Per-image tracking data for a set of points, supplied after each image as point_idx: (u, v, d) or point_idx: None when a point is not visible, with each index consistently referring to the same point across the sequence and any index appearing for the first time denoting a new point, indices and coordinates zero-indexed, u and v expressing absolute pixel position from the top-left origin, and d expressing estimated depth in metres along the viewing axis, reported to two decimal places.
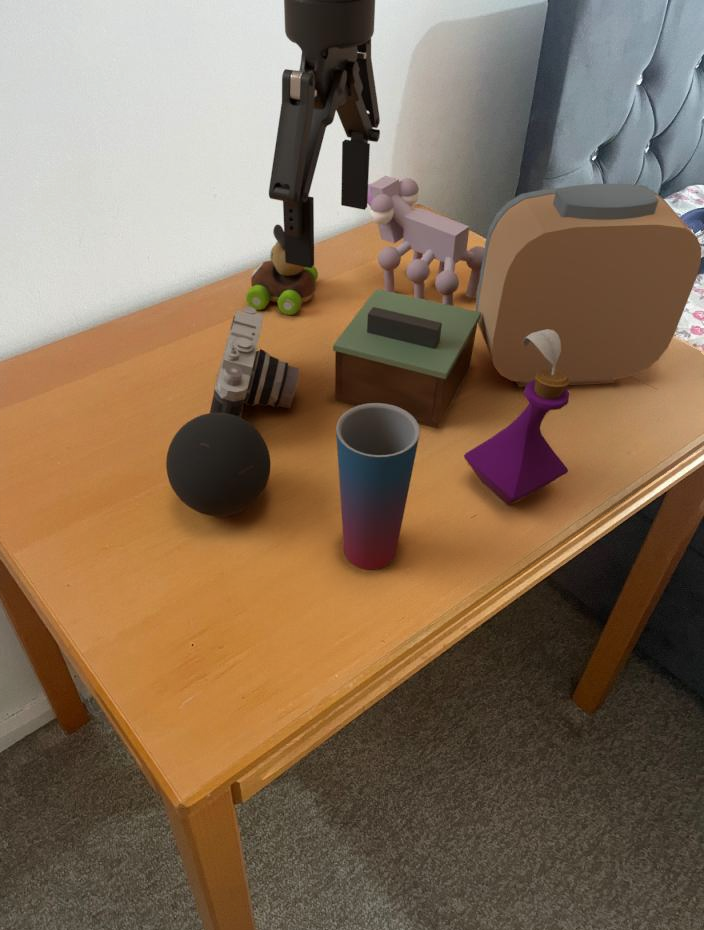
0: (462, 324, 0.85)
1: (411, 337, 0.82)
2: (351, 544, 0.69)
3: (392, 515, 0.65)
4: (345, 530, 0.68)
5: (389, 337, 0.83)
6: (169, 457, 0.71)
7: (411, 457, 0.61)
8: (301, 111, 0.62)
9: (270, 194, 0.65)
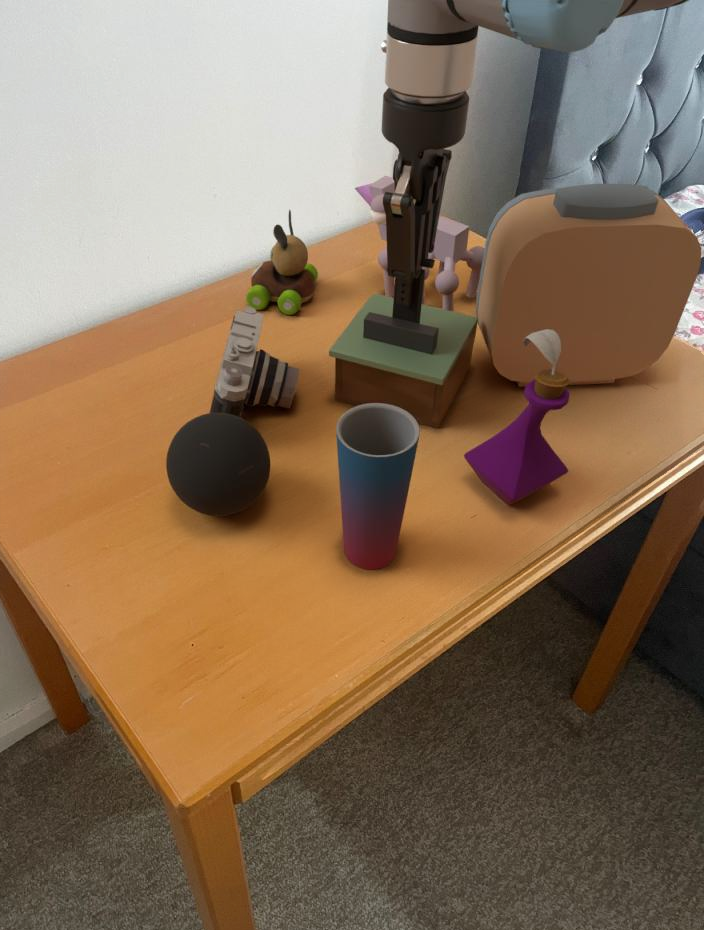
0: (459, 329, 0.84)
1: (407, 342, 0.81)
2: (351, 544, 0.69)
3: (392, 515, 0.65)
4: (345, 530, 0.68)
5: (385, 342, 0.82)
6: (169, 457, 0.71)
7: (411, 457, 0.61)
8: (405, 223, 0.69)
9: (389, 275, 0.75)
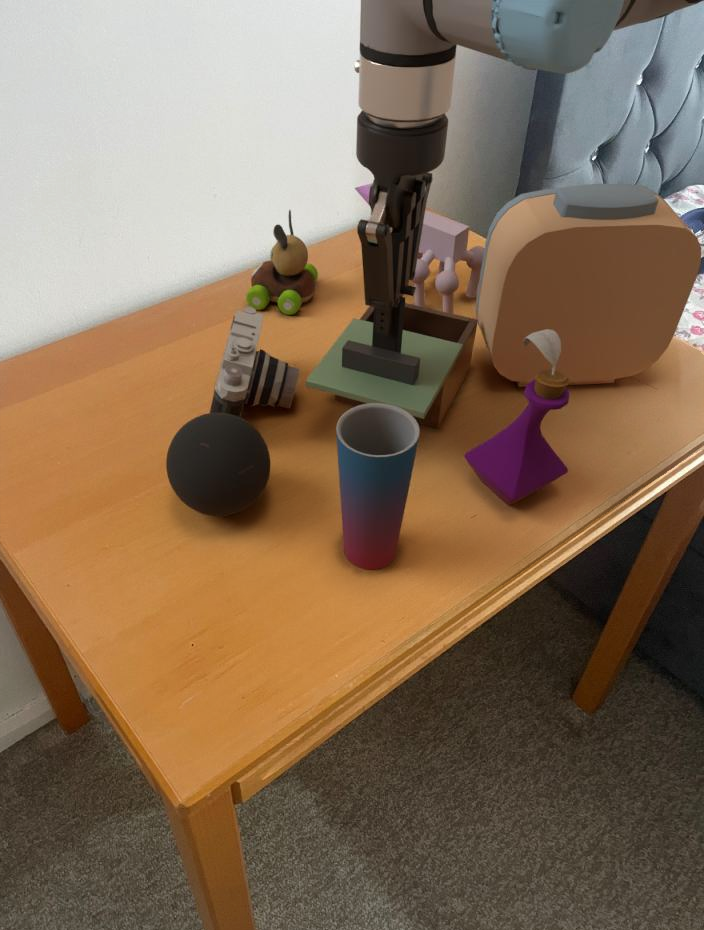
0: (442, 357, 0.81)
1: (388, 373, 0.77)
2: (351, 544, 0.69)
3: (392, 515, 0.65)
4: (345, 530, 0.68)
5: (365, 372, 0.79)
6: (169, 457, 0.71)
7: (411, 457, 0.61)
8: (381, 252, 0.65)
9: None
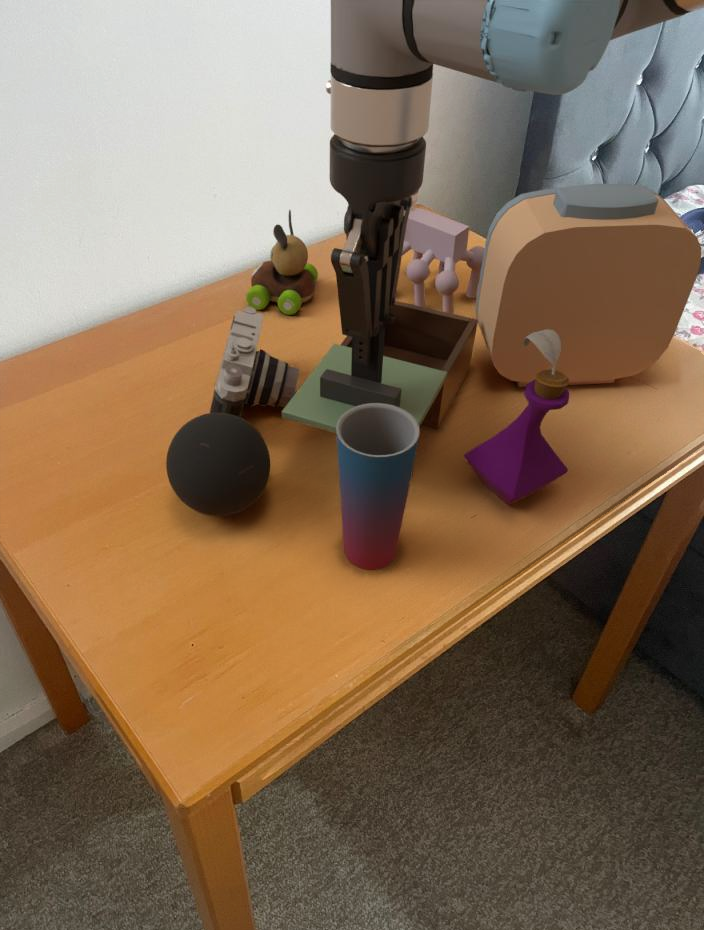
0: (425, 386, 0.77)
1: (368, 403, 0.74)
2: (351, 544, 0.69)
3: (392, 515, 0.65)
4: (345, 530, 0.68)
5: (344, 402, 0.75)
6: (169, 457, 0.71)
7: (411, 457, 0.61)
8: (357, 282, 0.62)
9: (344, 334, 0.68)
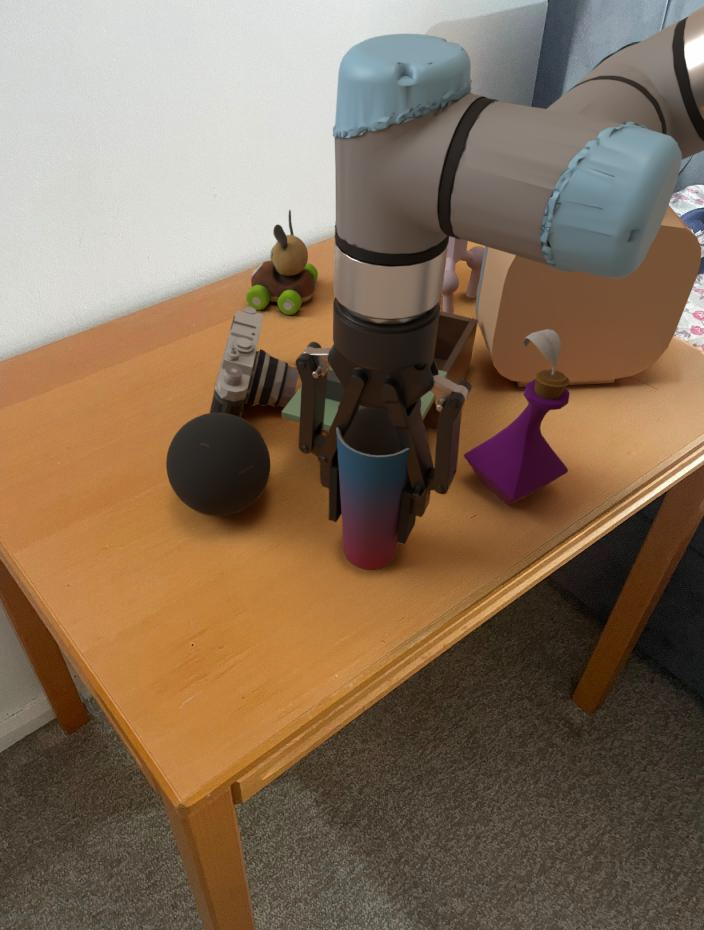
0: None
1: None
2: (351, 544, 0.69)
3: (392, 515, 0.65)
4: (345, 530, 0.68)
5: None
6: (169, 457, 0.71)
7: None
8: None
9: None
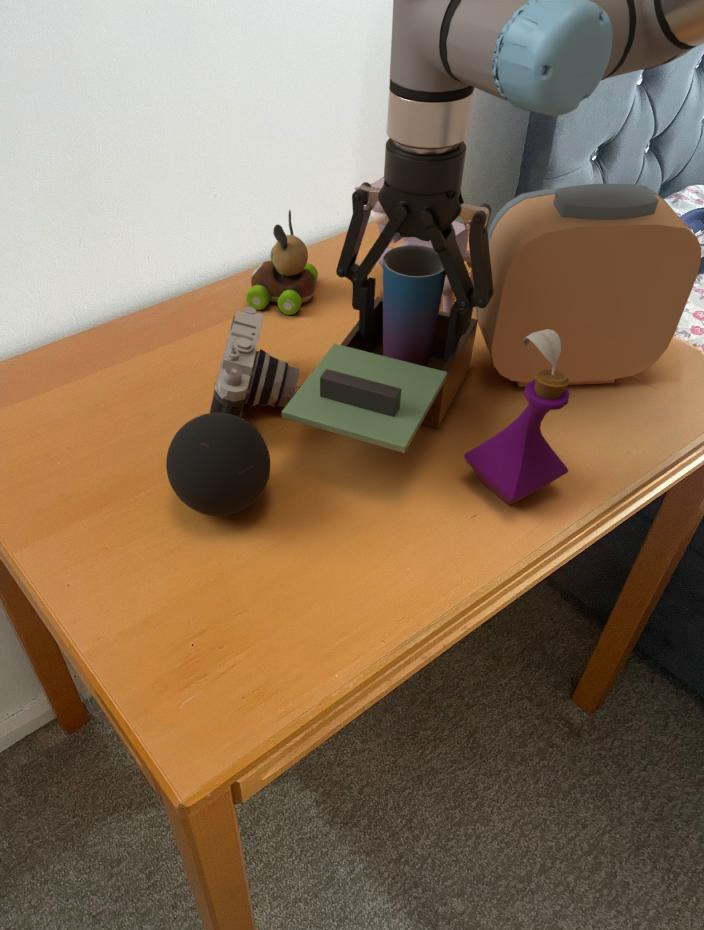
0: (425, 386, 0.77)
1: (368, 403, 0.74)
2: None
3: (425, 336, 0.82)
4: (386, 355, 0.86)
5: (344, 402, 0.75)
6: (169, 457, 0.71)
7: (441, 282, 0.78)
8: None
9: None
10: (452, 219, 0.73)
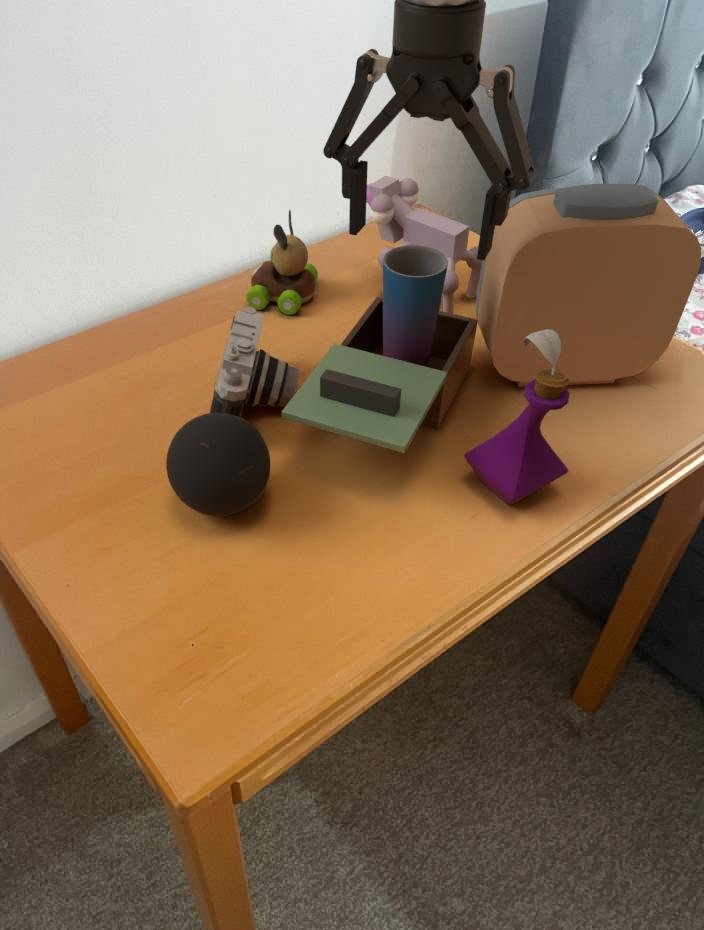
0: (425, 386, 0.77)
1: (368, 403, 0.74)
2: None
3: (425, 336, 0.82)
4: (386, 355, 0.86)
5: (344, 402, 0.75)
6: (169, 457, 0.71)
7: (441, 282, 0.78)
8: None
9: None
10: (469, 91, 0.65)
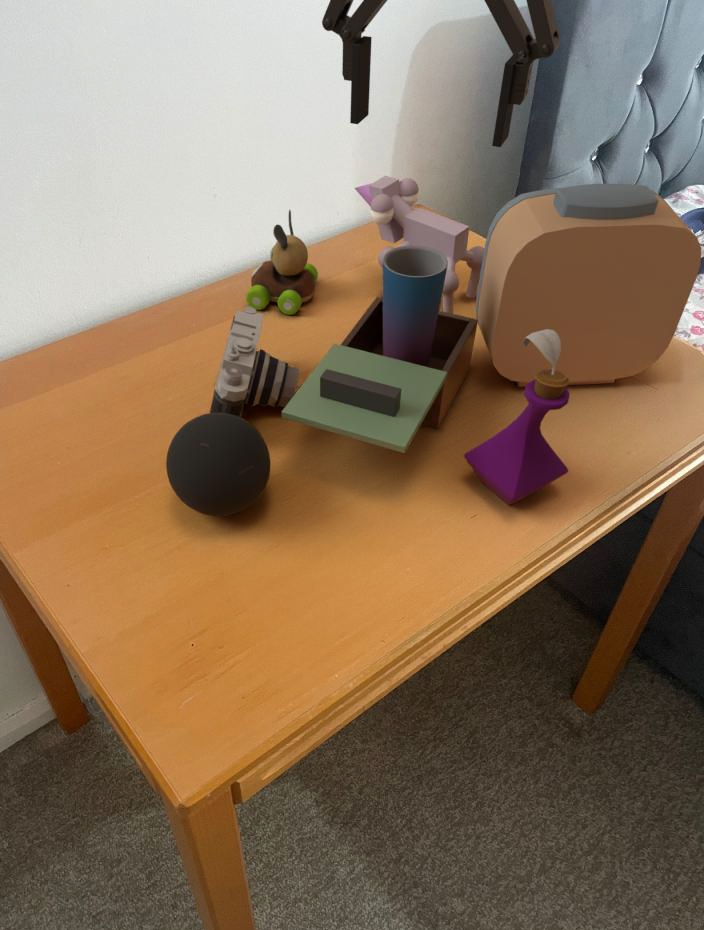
0: (425, 386, 0.77)
1: (368, 403, 0.74)
2: None
3: (425, 336, 0.82)
4: (386, 355, 0.86)
5: (344, 402, 0.75)
6: (169, 457, 0.71)
7: (441, 282, 0.78)
8: None
9: None
10: None
